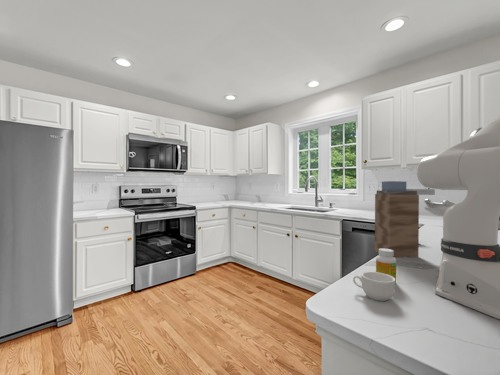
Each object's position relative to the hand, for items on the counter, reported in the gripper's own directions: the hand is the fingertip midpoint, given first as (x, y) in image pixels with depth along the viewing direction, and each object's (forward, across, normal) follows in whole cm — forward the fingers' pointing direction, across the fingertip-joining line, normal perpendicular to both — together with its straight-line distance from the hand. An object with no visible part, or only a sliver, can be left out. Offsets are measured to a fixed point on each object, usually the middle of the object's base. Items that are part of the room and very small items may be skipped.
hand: (434, 200), depth 110 cm
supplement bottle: (+26, +30, +43) cm, 59 cm away
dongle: (+12, 0, +4) cm, 13 cm away
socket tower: (+4, 0, +29) cm, 30 cm away
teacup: (+35, +39, +48) cm, 71 cm away
